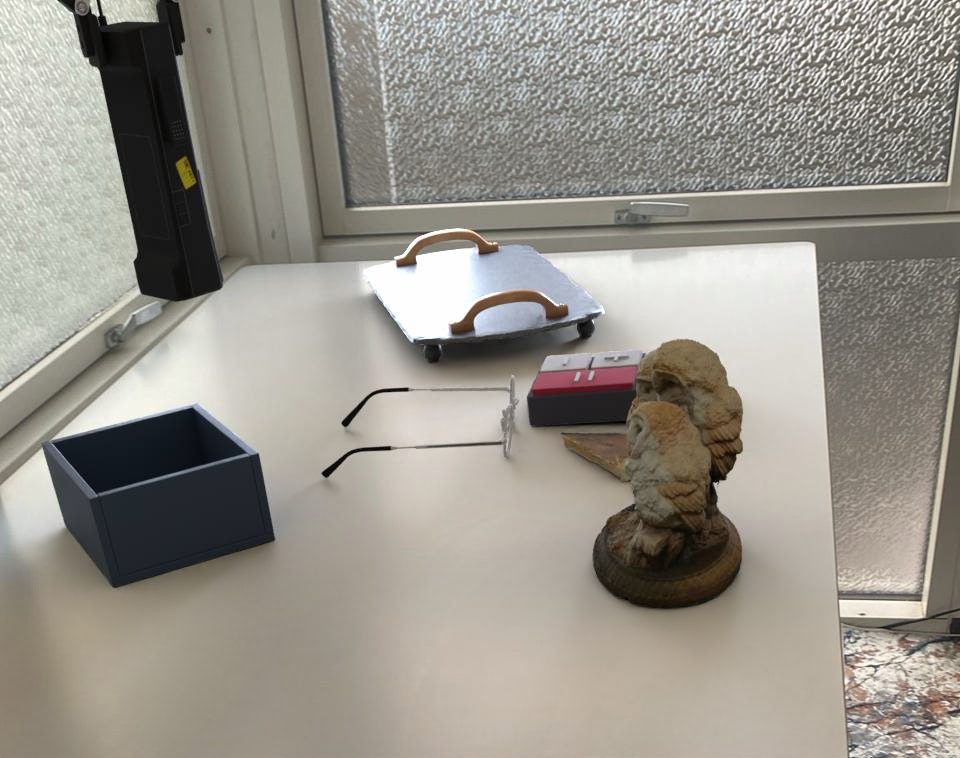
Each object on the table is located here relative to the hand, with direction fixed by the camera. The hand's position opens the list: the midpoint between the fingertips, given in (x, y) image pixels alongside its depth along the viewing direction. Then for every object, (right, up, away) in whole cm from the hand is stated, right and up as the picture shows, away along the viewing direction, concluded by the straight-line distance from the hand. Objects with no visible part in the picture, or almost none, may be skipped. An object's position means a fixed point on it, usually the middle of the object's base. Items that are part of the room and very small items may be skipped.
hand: (136, 58), depth 119 cm
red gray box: (+44, -26, +16) cm, 53 cm away
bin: (+3, -42, 0) cm, 43 cm away
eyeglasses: (+26, -32, +11) cm, 42 cm away
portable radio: (+2, -16, +13) cm, 20 cm away
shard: (+43, -35, +4) cm, 56 cm away
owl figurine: (+46, -47, -12) cm, 67 cm away
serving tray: (+30, -5, +45) cm, 54 cm away
